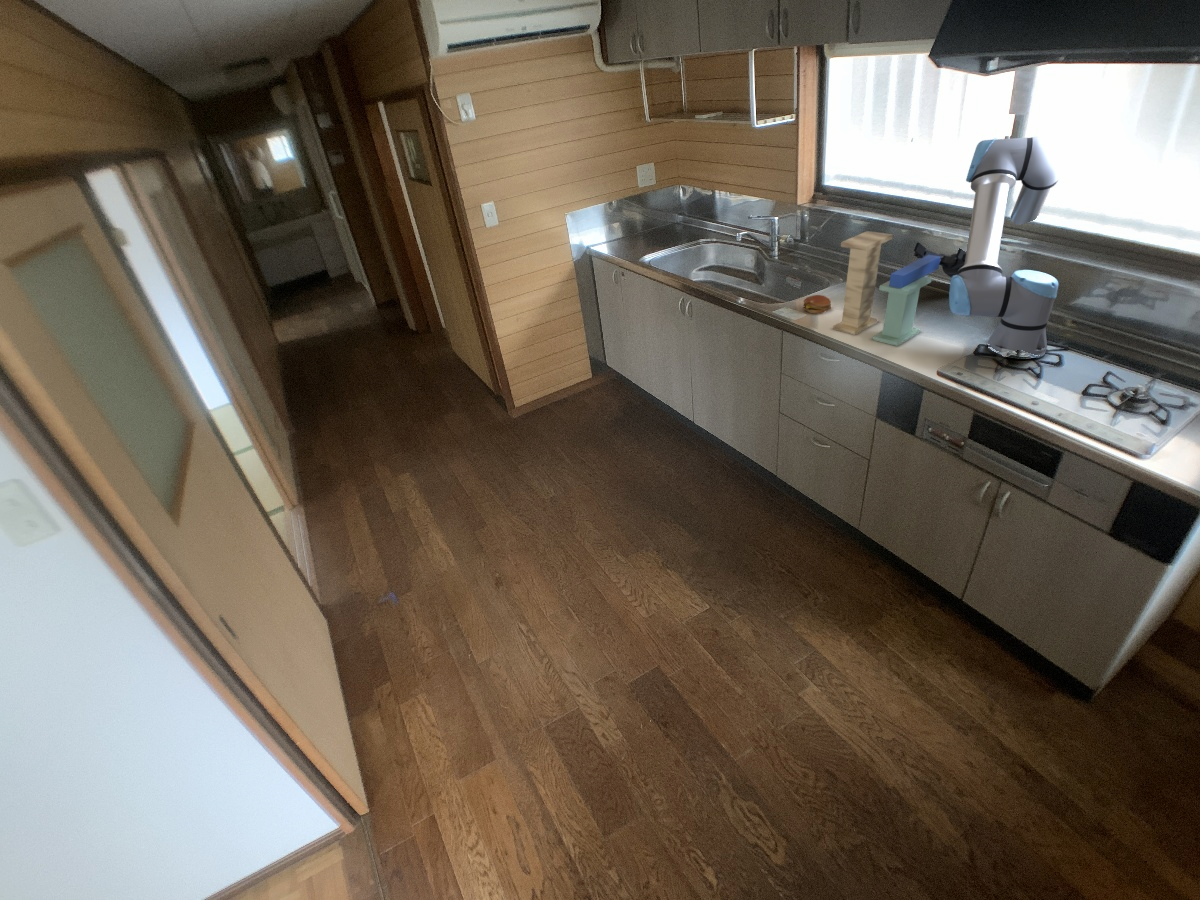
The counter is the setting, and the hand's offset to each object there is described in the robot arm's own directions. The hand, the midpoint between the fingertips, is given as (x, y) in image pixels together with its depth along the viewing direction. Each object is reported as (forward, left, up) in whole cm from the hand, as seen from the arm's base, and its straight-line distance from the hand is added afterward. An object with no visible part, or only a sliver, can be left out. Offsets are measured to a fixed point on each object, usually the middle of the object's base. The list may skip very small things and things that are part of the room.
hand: (936, 249), depth 198 cm
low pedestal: (+9, +15, -24) cm, 30 cm away
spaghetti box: (+6, +11, -6) cm, 13 cm away
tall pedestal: (+22, +7, -24) cm, 33 cm away
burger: (+36, -7, -24) cm, 44 cm away
